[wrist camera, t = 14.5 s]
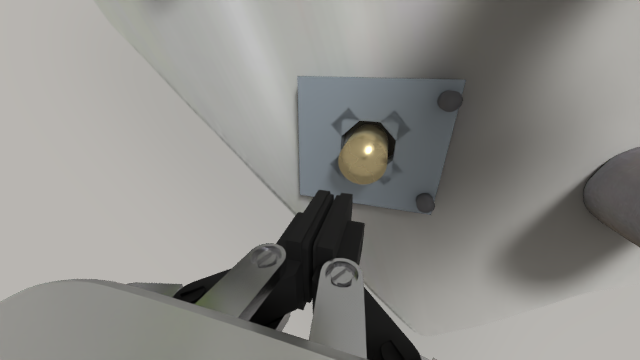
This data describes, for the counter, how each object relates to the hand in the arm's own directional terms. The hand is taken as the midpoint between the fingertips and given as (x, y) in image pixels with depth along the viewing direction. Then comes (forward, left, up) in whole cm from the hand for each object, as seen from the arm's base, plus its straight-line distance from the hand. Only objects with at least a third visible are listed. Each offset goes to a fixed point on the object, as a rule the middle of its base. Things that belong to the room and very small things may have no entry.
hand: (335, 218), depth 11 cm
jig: (0, +2, -21) cm, 21 cm away
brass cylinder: (0, +2, -21) cm, 21 cm away
